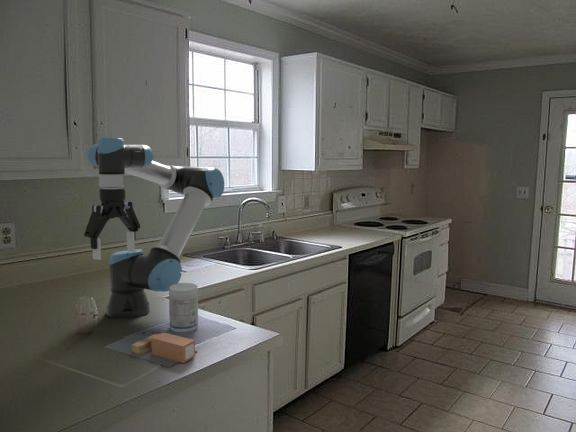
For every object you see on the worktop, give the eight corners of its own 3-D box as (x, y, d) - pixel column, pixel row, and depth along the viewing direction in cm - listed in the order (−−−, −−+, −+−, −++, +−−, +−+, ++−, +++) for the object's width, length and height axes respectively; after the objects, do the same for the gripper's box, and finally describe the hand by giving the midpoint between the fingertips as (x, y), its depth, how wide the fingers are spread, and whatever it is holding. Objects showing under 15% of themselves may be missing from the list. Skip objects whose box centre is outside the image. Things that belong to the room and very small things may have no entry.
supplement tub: (171, 323, 168) (171, 282, 165) (199, 322, 168) (199, 282, 166) (167, 334, 158) (166, 290, 156) (196, 333, 159) (196, 290, 157)
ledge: (155, 342, 151) (155, 333, 150) (162, 344, 149) (162, 335, 149) (131, 354, 142) (131, 344, 142) (139, 356, 141) (138, 346, 140)
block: (163, 332, 145) (195, 340, 140) (163, 348, 146) (195, 356, 140) (151, 337, 141) (183, 346, 135) (151, 354, 142) (184, 363, 136)
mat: (133, 335, 157) (133, 334, 156) (196, 352, 144) (196, 350, 144) (103, 348, 146) (103, 347, 146) (169, 367, 134) (169, 366, 134)
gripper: (133, 184, 162) (135, 246, 165) (69, 189, 140) (72, 261, 143) (150, 186, 158) (152, 249, 161) (86, 191, 136) (90, 264, 139)
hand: (114, 255), depth 152 cm, fingers open, 13 cm apart
